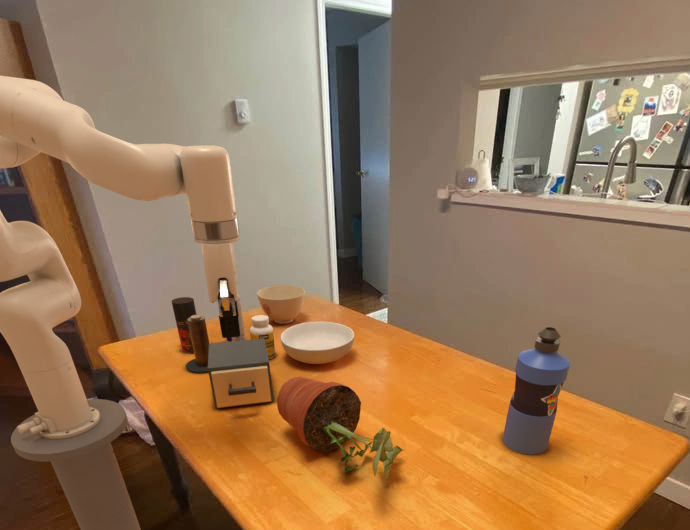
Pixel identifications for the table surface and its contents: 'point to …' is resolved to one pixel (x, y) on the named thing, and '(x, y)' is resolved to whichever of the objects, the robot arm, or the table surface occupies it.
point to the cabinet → (238, 358)
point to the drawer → (241, 386)
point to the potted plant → (331, 420)
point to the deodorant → (184, 321)
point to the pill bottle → (263, 333)
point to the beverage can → (241, 325)
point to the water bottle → (536, 395)
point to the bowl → (281, 302)
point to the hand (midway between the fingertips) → (231, 327)
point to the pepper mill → (199, 339)
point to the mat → (196, 367)
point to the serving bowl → (317, 341)
